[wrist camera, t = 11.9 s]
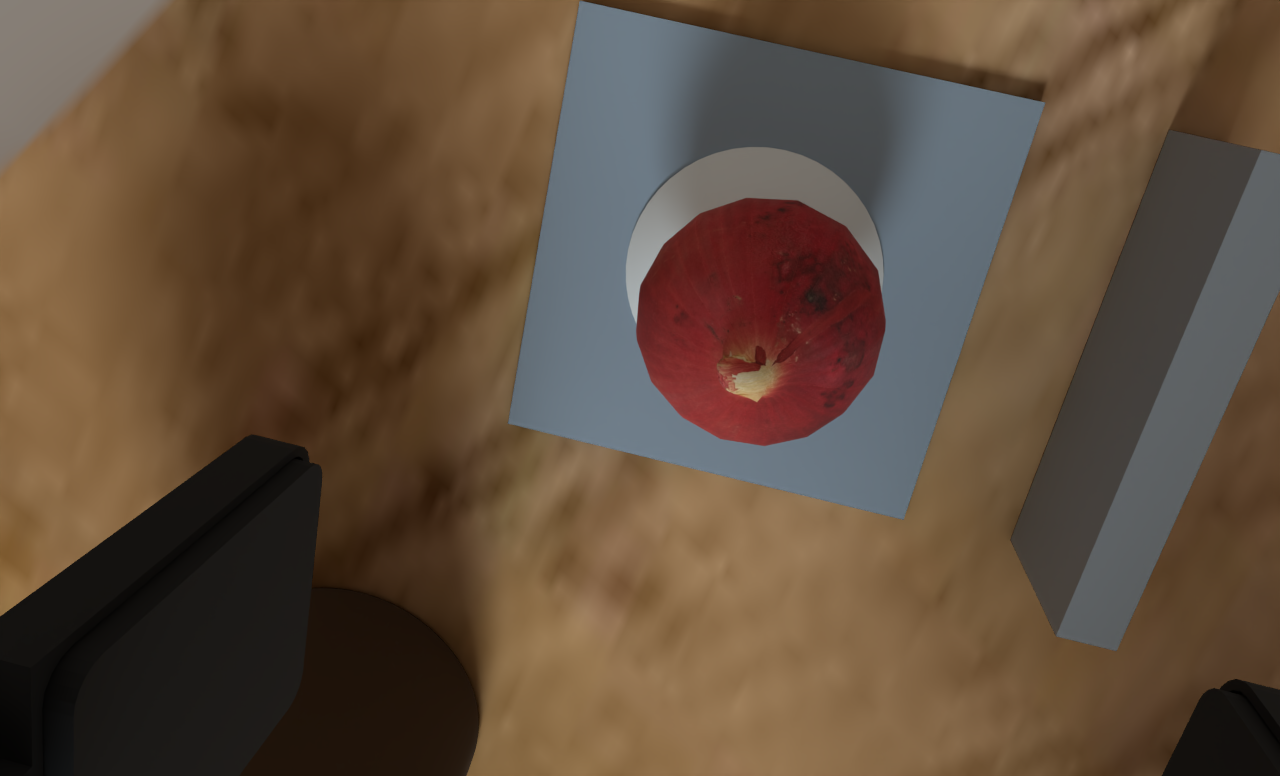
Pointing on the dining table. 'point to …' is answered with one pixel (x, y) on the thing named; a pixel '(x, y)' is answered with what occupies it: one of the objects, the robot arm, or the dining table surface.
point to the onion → (761, 320)
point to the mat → (768, 169)
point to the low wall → (1152, 383)
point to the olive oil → (372, 698)
